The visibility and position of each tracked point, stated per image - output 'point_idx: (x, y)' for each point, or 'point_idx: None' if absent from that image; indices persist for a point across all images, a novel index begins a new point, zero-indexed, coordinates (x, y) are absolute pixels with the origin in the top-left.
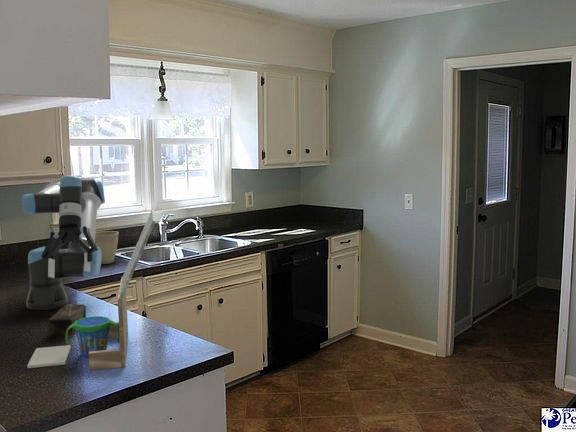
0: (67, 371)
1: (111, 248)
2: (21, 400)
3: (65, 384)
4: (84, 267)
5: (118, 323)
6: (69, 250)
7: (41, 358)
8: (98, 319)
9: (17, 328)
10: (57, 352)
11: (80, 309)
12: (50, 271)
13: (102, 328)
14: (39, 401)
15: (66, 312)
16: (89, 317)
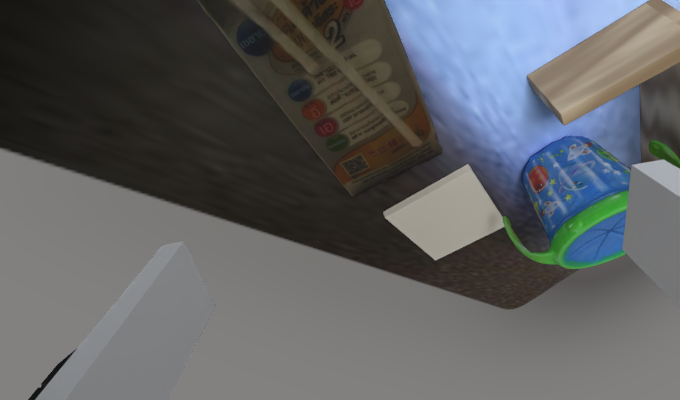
0: (525, 230)
1: None
2: (495, 290)
3: (542, 251)
4: (649, 274)
5: (661, 70)
6: None
7: (443, 237)
8: None
9: (98, 139)
10: (461, 208)
11: (377, 2)
12: (192, 340)
13: None
14: (523, 282)
15: (342, 94)
16: (596, 223)
